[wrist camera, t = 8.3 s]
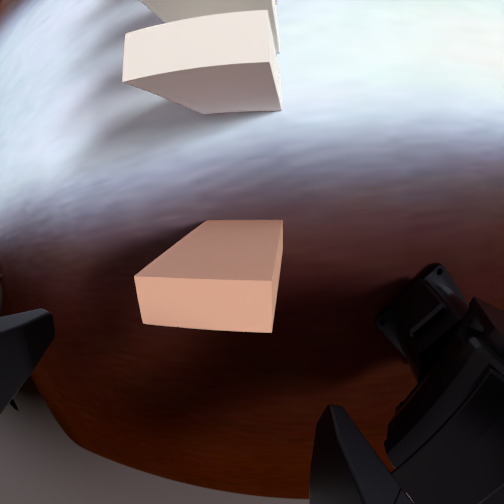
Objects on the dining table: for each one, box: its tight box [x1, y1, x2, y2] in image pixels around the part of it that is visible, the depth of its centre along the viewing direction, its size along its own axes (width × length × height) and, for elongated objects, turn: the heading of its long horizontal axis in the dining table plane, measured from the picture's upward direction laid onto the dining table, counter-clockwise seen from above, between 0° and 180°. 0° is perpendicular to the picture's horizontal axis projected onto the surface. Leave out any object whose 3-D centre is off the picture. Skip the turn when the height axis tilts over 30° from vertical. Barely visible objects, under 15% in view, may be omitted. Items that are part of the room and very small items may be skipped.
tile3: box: [139, 0, 280, 53], centre depth 11 cm, size 2×5×10 cm, turn 92°
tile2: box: [122, 10, 282, 114], centre depth 13 cm, size 2×5×10 cm, turn 91°
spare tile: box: [134, 220, 283, 333], centre depth 15 cm, size 2×5×10 cm, turn 92°
